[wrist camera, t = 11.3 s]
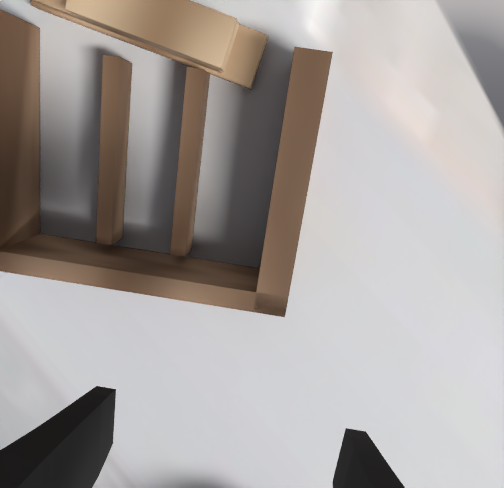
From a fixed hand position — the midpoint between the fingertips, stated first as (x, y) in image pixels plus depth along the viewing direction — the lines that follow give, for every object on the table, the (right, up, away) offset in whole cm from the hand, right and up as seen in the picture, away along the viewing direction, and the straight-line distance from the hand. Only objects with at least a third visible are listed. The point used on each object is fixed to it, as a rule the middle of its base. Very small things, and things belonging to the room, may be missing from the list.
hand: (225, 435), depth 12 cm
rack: (-4, +10, +8) cm, 14 cm away
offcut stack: (-4, +17, +7) cm, 18 cm away
